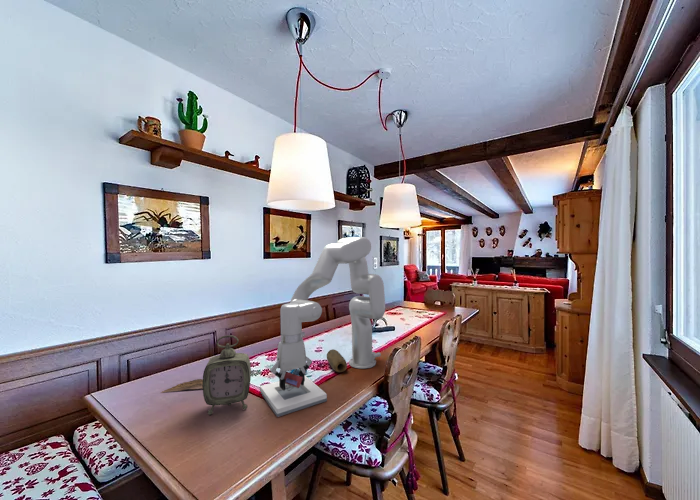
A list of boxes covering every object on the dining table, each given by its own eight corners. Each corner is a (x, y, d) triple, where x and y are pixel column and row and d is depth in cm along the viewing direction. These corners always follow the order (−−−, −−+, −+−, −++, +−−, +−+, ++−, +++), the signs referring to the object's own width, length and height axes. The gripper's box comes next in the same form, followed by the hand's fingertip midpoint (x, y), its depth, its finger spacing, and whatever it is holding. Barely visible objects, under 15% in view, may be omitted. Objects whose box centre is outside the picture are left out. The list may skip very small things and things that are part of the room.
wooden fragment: (233, 374, 129) (233, 372, 129) (232, 385, 119) (232, 382, 119) (164, 386, 120) (164, 383, 120) (158, 398, 110) (158, 395, 110)
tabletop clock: (203, 418, 95) (201, 341, 95) (208, 404, 104) (207, 333, 104) (250, 411, 99) (248, 336, 99) (251, 398, 107) (250, 329, 108)
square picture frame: (304, 380, 121) (304, 374, 121) (326, 400, 105) (326, 393, 105) (260, 392, 112) (259, 385, 112) (277, 417, 95) (277, 409, 95)
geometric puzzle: (307, 377, 112) (294, 361, 112) (305, 386, 105) (291, 368, 105) (292, 389, 112) (279, 373, 112) (289, 399, 105) (275, 381, 105)
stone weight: (323, 363, 140) (323, 349, 140) (337, 361, 143) (337, 347, 143) (335, 375, 126) (334, 359, 126) (350, 372, 129) (349, 357, 129)
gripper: (308, 331, 116) (309, 377, 116) (264, 339, 107) (265, 388, 107) (317, 336, 110) (318, 384, 110) (271, 344, 101) (272, 397, 100)
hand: (292, 385), depth 108 cm, fingers closed on geometric puzzle, 6 cm apart
